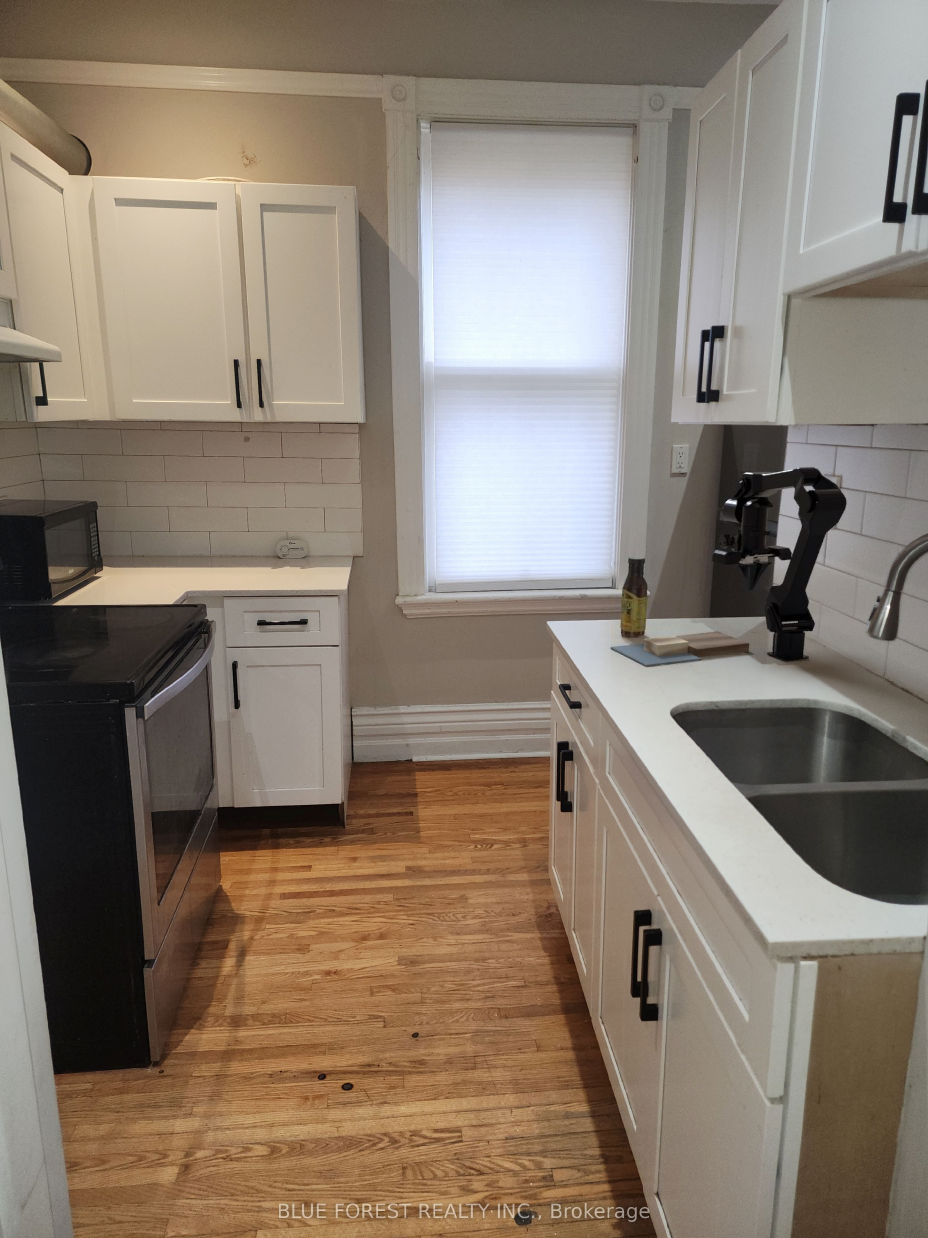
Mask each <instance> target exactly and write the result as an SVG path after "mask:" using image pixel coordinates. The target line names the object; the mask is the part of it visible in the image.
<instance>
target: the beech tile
mask: <svg viewBox="0 0 928 1238" xmlns="http://www.w3.org/2000/svg"><path fill="white" fill-rule="evenodd" d="M676 636H677V635H671V636H670V635H669V636H662V637H661V636H660V637H653V638H652V637H649V638H644V639H643V643H644V650H646V651H648V652H650V653H652V654H654V655H656V656H662V655H671V654H679V653H688V644H689V642H688V641H685V640H683V639H680V638H678V637H676Z"/></svg>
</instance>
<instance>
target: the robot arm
mask: <svg viewBox="0 0 928 1238" xmlns="http://www.w3.org/2000/svg"><path fill="white" fill-rule="evenodd" d="M806 487H812V488H813V489H809V490H807V489H806ZM787 489H794V493H793V499H794V501H795V502H796V505H797V507H798V513H797V515H798V518H799V521H800V524H801V527H800V532H799V534H798V537H797V540H796V543H795V546H794V549H793V552H792V551H791V549H790V547H785V546H781V545H769V546H767V545H766V544H767V536H770V535H771V530H767V529H768V517H769V516H768V514H769V509H771V508H772V509H773V507H774V504H773V503H772V502H771V501H770V500H769V497H771V496H773V495H775V494H777V493H778V491H780V490H787ZM732 491H733V492H732V493H730V496H729V497H730V498H729V499H727V501H725V502H724V504H723V506H722V508H721V510H722V511H721V513H722V516H723V517H724V519H725V520H727V521H729V522H735V523H737V524H739V523H740V524H741V527H740V528H739V529H737V531H736V535H733V536H731V535H730V534H729V533H722V534H721V535H719V538H718V539H719V540H718V546H719V548H720V549H715V550H714V552H712V555H711V556H712V559H711V562H714V563H718V564H722V565H730V566H731V565H736V566H737V567H738V568H739V570H740V571H741V574H742V578H743V581H744V584H745V587H746V591H749V592H750V591H751V592H753V590H754V588H755V587H756V585H757V584H758V582H759V580H760V578H761V577H762V576H763V573H764V572H765V571H766V569H767V568H768V567H769V566H771V565H772V562H770V561H769V558H778V559H779V560H780V561H789V562H788V565H787V569H786V573H785V575H784V578H783V581H782V583H781V584H780V585H778V584H777V585H771V587H770V588H769V592H768V595H767V598H765V602H766V603H765V606H764V615H765V621H766V623H765V624H766V629H767V630H769V631H768V632H770V633H773V634H772V649H771V650H772V651H767V652H766V655H768V656H769V657H773V658H774V659H778V660H781V661H783V662H793V661H800V660H808V659H809V658H810V656H809V655H806V654H804V652H805V651H804V650H805V640H806V638H805V637H806V632H814V628H815V625H816V622H815V621H814V618H813V616H812V614H811V611H810V609H809V605H810V600H809V596H808V595H807V592H806V591H807V587H808V584H809V582H810V578H811V576H812V573H813V571H814V568H815V565H816V562H817V560H818V558H819V557H818V556H819V554H820V551H821V548H822V546H823V543H824V540H825V537H826V535H827V533H828V532H829V531H830V530H832V529H834V527H835V526H836V525H838V523H839V522H840V520H841V519H842V517H843V515H844V513H845V511H846V508H847V504H848V503H847V498H846V496H845V494H844V493H843V491H842V490H841V489H840V487H839V486H838V485H837V484H836V483H835V482H834V481H833V480H830V479H829V478H828V477H826V476H825V475H823V474H822V472H821V471H820V470H819V469H818V468H816V467H814V466H806V467H805V466H804V467H796V468H794V469H789V470H783V471H778V472H772V471H756V472H755V471H753V472H751V471H750V472H744V473H742V475H741V478H740V479H738V482H737V485H735V489H734V490H732Z"/></svg>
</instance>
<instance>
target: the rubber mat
mask: <svg viewBox="0 0 928 1238" xmlns="http://www.w3.org/2000/svg"><path fill="white" fill-rule="evenodd" d="M612 649H613V651H614V650H615V651H614V652H616V651H617V652H616V653H618V652H619V653H618V654H620V653H621V654H620V655H622V656H624V657H626V658H628V659H630V660H632V661H634V662H636V663H638V664H640V665H642V666H644V667H646V666H647V667H655V666H654V665H656V666H662V665H661V664H664V665H670V664H679V663H681V664H682V663H689V662H696V661H695V660H698V661H701V660H702V657H697V656H695V655H692V654H690V653H679V654H671V655H662V656H656V655H654V654H652V653H650V652H648V651H646V650H644V642H643V643H635V644H634V643H633V644H626V645H615V646H610V650H612ZM688 661H689V662H688Z"/></svg>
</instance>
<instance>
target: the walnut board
mask: <svg viewBox="0 0 928 1238" xmlns="http://www.w3.org/2000/svg"><path fill="white" fill-rule="evenodd" d="M675 636H676V637H678V638H680V639H683V640H685V641H688V642H689V644H688V653H690V654H692V655H695V656H697V657H699V658H705V657H714V656H720V655H721V656H723V655H730V654H741V653H748V652H750V642H747V641H745V640H742V639H739V638H737V637H733V636H731V635H728V634H725V633H723V632H721V631H719V630H718V631H711V632H709V631H708V632H700V633H698V632H697V633H691V634H682V635H681V634H680V635H675Z"/></svg>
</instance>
